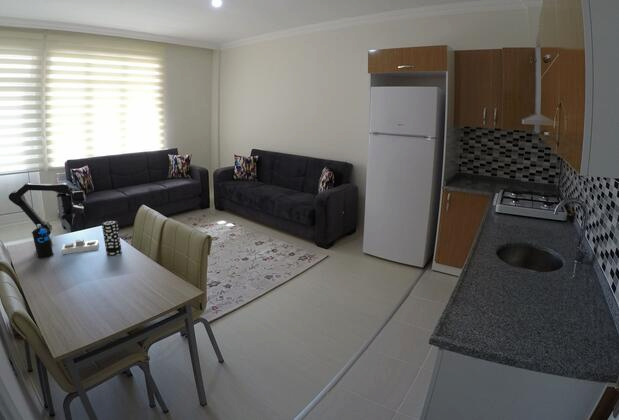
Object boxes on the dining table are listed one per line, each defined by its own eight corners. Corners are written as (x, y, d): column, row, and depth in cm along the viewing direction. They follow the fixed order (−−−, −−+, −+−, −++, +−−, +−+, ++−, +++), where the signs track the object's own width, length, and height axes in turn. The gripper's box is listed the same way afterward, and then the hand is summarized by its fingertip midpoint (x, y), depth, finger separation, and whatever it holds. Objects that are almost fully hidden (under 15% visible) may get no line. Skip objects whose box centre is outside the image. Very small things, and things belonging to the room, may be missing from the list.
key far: (87, 247, 228) (87, 242, 227) (88, 245, 231) (87, 240, 230) (95, 246, 229) (94, 241, 228) (95, 244, 233) (94, 239, 232)
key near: (65, 250, 223) (64, 246, 222) (66, 248, 226) (65, 243, 225) (73, 249, 224) (72, 245, 223) (73, 247, 228) (73, 242, 227)
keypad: (62, 254, 220) (61, 249, 219) (64, 248, 228) (63, 244, 227) (97, 249, 228) (97, 244, 227) (98, 244, 236) (98, 239, 235)
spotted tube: (111, 257, 217) (106, 226, 211) (103, 254, 221) (98, 223, 215) (124, 252, 224) (120, 222, 218) (116, 249, 228) (112, 219, 222)
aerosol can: (33, 257, 215) (26, 225, 210) (47, 252, 223) (41, 221, 217) (43, 259, 213) (36, 227, 207) (56, 254, 220) (50, 223, 214)
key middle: (76, 246, 225) (75, 242, 224) (77, 244, 228) (76, 239, 227) (83, 245, 226) (83, 241, 225) (84, 243, 230) (83, 239, 229)
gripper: (80, 204, 225) (84, 228, 230) (83, 197, 241) (87, 219, 246) (59, 206, 221) (63, 230, 225) (63, 199, 237) (67, 222, 241)
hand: (71, 225), depth 234 cm, fingers closed
